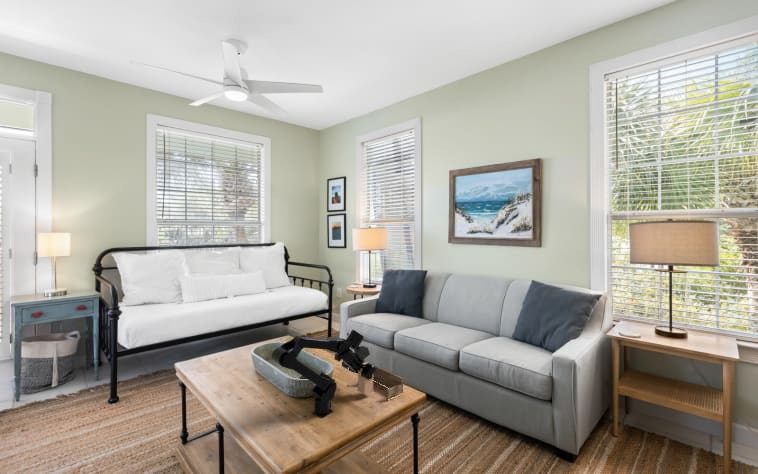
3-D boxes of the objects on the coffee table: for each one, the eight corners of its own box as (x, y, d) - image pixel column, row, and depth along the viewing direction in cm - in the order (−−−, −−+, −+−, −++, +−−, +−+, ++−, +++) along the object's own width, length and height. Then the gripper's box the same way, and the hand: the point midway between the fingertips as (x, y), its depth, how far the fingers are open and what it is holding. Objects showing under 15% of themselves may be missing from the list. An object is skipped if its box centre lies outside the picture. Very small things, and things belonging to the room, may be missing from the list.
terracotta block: (364, 394, 158) (365, 368, 158) (357, 390, 162) (358, 364, 162) (373, 391, 162) (373, 365, 162) (366, 387, 166) (366, 362, 165)
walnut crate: (388, 401, 157) (388, 383, 157) (358, 385, 173) (359, 369, 173) (402, 395, 164) (403, 377, 163) (373, 380, 179) (373, 364, 179)
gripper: (373, 347, 152) (391, 366, 160) (347, 337, 166) (364, 355, 174) (358, 370, 147) (377, 389, 155) (333, 357, 161) (351, 375, 168)
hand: (368, 376), depth 163 cm, fingers closed on terracotta block, 5 cm apart
